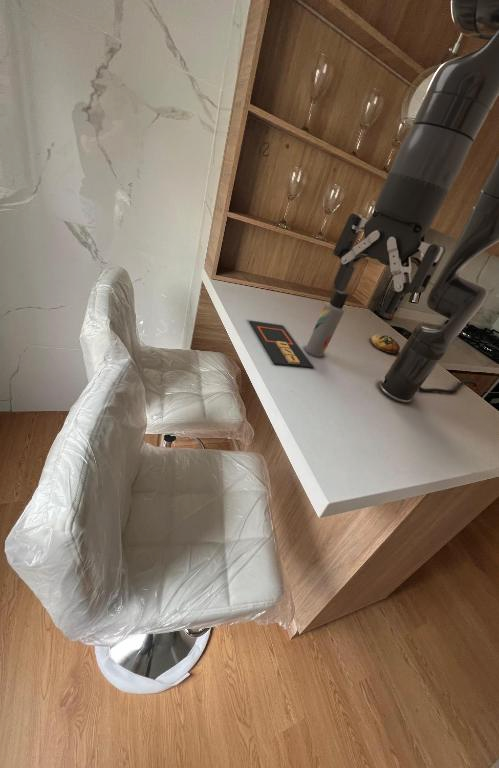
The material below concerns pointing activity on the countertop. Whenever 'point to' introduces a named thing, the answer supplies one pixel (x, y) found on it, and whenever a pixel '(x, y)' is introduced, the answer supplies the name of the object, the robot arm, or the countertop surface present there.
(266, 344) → the mat
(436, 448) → the countertop surface
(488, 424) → the countertop surface
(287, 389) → the countertop surface
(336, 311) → the lotion bottle
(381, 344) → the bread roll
